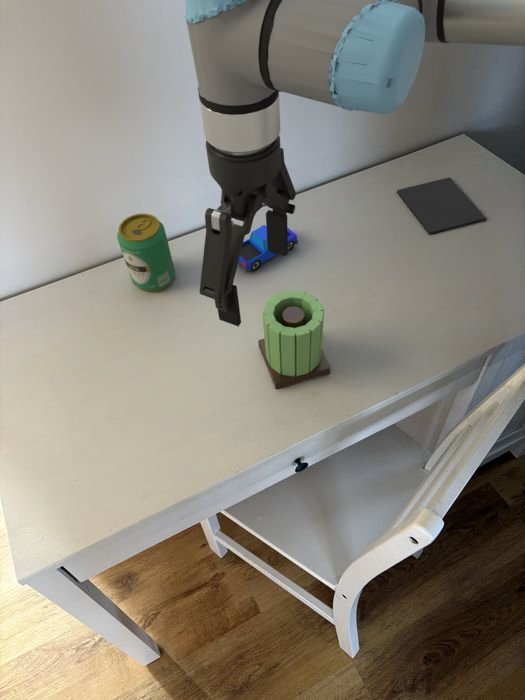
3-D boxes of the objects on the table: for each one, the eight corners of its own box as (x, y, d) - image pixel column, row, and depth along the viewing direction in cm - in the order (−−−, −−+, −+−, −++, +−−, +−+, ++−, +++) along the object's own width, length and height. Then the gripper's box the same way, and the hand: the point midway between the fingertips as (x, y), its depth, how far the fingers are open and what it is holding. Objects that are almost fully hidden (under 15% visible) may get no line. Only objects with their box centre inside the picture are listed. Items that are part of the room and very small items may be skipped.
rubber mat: (485, 220, 103) (486, 217, 103) (429, 235, 102) (429, 232, 101) (449, 179, 112) (449, 176, 111) (396, 192, 110) (396, 189, 109)
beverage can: (123, 285, 98) (105, 234, 88) (149, 257, 102) (133, 206, 92) (159, 299, 95) (144, 248, 86) (184, 270, 99) (172, 218, 90)
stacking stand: (330, 373, 84) (334, 329, 75) (275, 389, 82) (273, 346, 74) (310, 331, 89) (311, 285, 80) (258, 345, 88) (254, 300, 79)
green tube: (329, 367, 83) (332, 326, 75) (276, 382, 81) (274, 342, 73) (309, 326, 88) (311, 284, 80) (259, 340, 86) (255, 298, 78)
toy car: (300, 249, 101) (300, 228, 97) (249, 278, 97) (247, 258, 93) (278, 231, 104) (277, 210, 101) (228, 258, 100) (225, 238, 97)
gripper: (264, 72, 61) (271, 220, 78) (140, 199, 48) (180, 343, 65) (326, 84, 59) (319, 234, 75) (212, 221, 46) (235, 365, 63)
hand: (255, 285), depth 70 cm, fingers open, 13 cm apart
